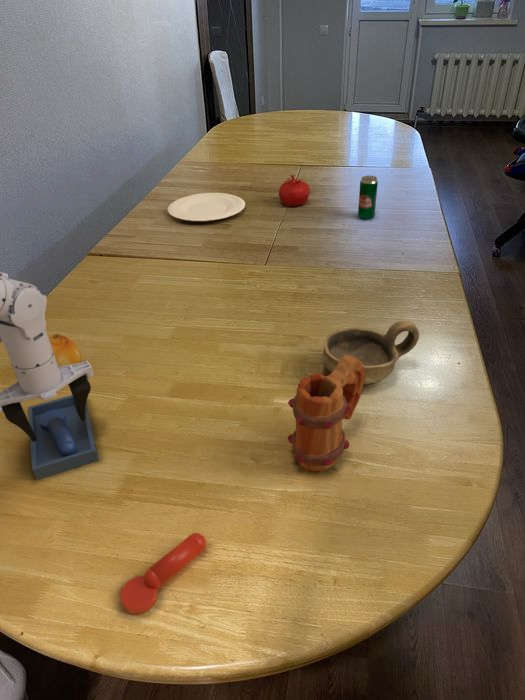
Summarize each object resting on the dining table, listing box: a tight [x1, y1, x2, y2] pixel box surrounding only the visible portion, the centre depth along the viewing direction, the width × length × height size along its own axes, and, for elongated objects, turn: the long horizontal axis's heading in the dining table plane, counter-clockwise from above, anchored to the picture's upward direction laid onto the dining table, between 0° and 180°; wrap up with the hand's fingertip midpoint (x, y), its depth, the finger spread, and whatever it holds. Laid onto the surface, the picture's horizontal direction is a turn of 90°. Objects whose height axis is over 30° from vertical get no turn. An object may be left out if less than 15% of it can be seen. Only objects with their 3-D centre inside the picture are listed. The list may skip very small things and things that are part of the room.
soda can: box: [357, 174, 379, 221], centre depth 154 cm, size 5×5×12 cm
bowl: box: [320, 319, 420, 385], centre depth 93 cm, size 14×18×10 cm
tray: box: [27, 394, 100, 480], centre depth 84 cm, size 15×9×2 cm, turn 23°
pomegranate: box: [278, 174, 311, 207], centre depth 167 cm, size 10×10×9 cm
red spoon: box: [120, 532, 207, 615], centre depth 64 cm, size 12×4×3 cm, turn 135°
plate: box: [167, 192, 246, 223], centre depth 166 cm, size 25×25×2 cm
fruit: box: [48, 333, 82, 367], centre depth 98 cm, size 8×8×8 cm
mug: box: [287, 355, 365, 472], centre depth 76 cm, size 15×8×15 cm, turn 136°
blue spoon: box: [39, 409, 77, 456], centre depth 84 cm, size 12×4×3 cm, turn 35°
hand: (58, 426), depth 81 cm, fingers open, 7 cm apart
